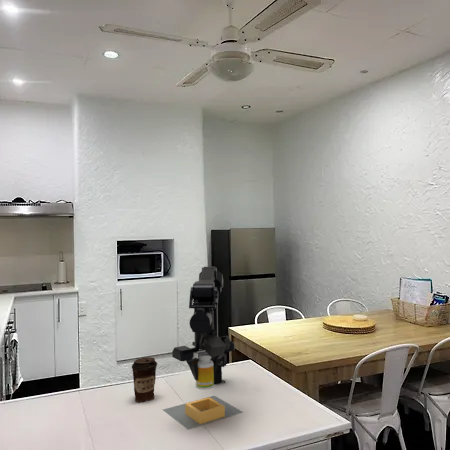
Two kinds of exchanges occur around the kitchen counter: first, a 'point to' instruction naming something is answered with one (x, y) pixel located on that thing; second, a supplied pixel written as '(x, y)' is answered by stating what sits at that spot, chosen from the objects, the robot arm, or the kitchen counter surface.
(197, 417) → the orange collar
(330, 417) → the kitchen counter surface
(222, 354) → the robot arm
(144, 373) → the coffee cup
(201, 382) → the supplement bottle
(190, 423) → the slate board
